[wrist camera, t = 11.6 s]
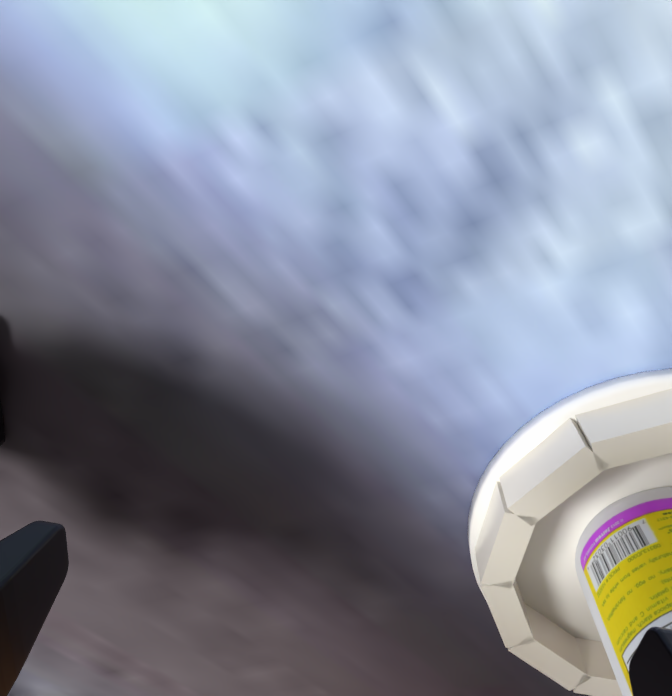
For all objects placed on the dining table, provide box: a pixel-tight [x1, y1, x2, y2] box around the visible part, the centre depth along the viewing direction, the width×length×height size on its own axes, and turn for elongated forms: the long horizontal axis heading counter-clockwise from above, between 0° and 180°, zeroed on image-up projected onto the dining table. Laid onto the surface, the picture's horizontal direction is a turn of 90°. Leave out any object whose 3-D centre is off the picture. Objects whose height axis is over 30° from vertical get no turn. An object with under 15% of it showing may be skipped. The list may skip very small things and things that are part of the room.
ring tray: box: [468, 368, 672, 696], centre depth 22 cm, size 15×15×3 cm
